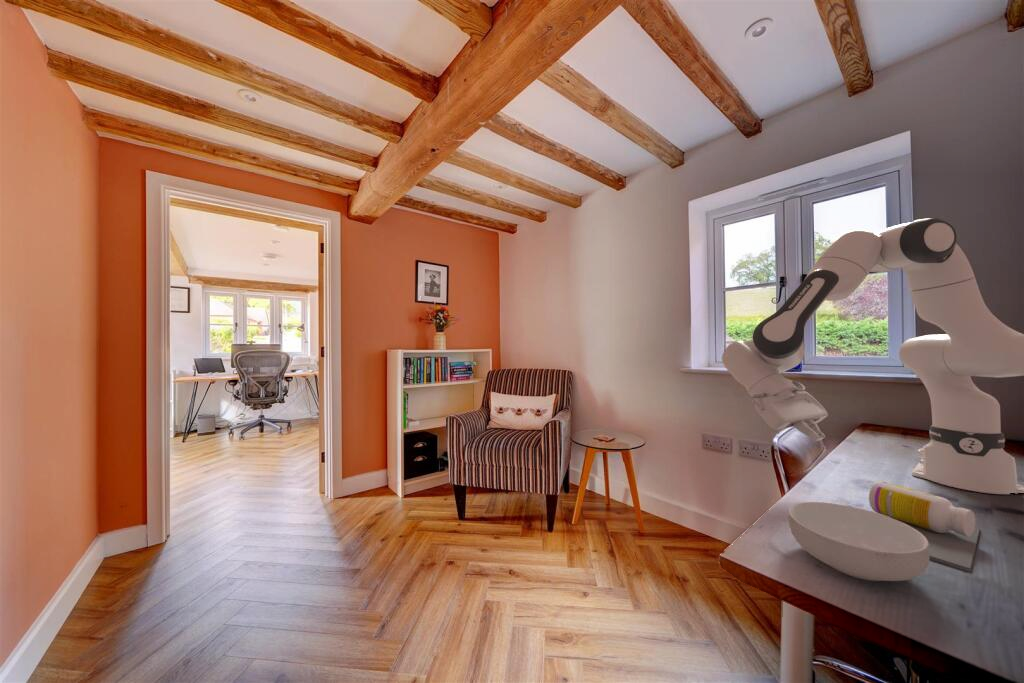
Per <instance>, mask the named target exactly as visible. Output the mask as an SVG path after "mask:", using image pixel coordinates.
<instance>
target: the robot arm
mask: <svg viewBox="0 0 1024 683" xmlns="http://www.w3.org/2000/svg"><path fill="white" fill-rule="evenodd" d="M901 269H902V270H903V271H904V272H905V273H906V280H907V284H908V287H909V288H908V289H909V291H910V294H911V297H912V301H913V305H914V307H915V311H916V314H917V315H918V317H919V318H920V319H921V320H923V321H924V322H928V323H930V324H932V325H935V326H937V327H939V328H940V329H941V330H942V331H944V332H945V333H943V334H941V333H938V334H937V333H936V334H926V335H925V334H924V335H921V336H916V337H912V338H911V337H910V338H908V339H907V340H905V341H904V342H902V344H901V345H900V347H899V349H898V350H899V351H898V357H899V360H900V362H901V364H902V365H903V366H904V367H905V368H906V369H908V370H910V371H911V372H913V374H915V375H916V376H917V377H918V378H919V379H920V380H921V382H922V383H923V385H924V387H925V388H926V391H927V394H928V396H929V399H930V406H931V409H930V410H931V421H932V424H931V425H930V426H929V430H928V431H929V432H928V433H929V438H930V441H929V442H928V443H926V444H925V445H923V446H922V448H919V449H918V450H917V457H918V458H920V460H919V462H918V463H917V464H916V466H915V467H914V469H913V470H912V472H911V475H912V476H914V477H917V478H922V479H926V480H929V481H931V482H935V483H937V484H940V485H943V486H944V485H945V486H948V487H951V488H952V487H953V488H956V489H961V490H967V491H972V492H978V493H985V494H993V495H1011V494H1010V493H1015V494H1018V493H1024V486H1023V485H1021V484H1018V477H1017V476H1018V473H1017V465H1016V460H1015V457H1014V456H1012V455H1011V454H1009V453H1008V452H1006V451H1005V450H1004V448H1005V442H1006V438H1005V434H1004V433H1003V432H1002V430H1001V429H1002V428H1001V425H1002V424H1001V423H1002V422H1001V405H1000V403H999V401H998V399H996V398H995V397H994V396H993V395H991V394H989V393H987V392H984V391H983V390H981V389H979V387H978V386H977V385H976V384H975V383H974V382H973V380H972V377H980V378H981V377H982V378H983V377H986V378H999V379H1000V378H1010V377H1022V376H1023V377H1024V333H1022V332H1019V331H1017V330H1015V329H1013V328H1011V327H1009V326H1008V325H1006V324H1005V323H1003V322H1002V321H1001V320H1000V319H998V317H996V316H995V315H994V313H993V312H991V310H990V309H989V308H988V306H987V305H986V303H985V301H984V298H983V296H982V294H981V291H980V289H979V285H978V283H977V279H976V276H975V274H974V270H973V268H972V265H971V264H970V261H969V259H968V257H967V256H966V254H965V253H964V251H963V250H962V248H961V247H960V245H958V244H957V232H956V230H955V228H954V227H953V225H951V224H950V223H949V222H948V221H946V220H944V219H942V218H937V217H934V218H933V217H932V218H931V217H929V218H921V219H916V220H912V222H907V223H901V224H898V225H893V226H890V227H887V228H885V229H883V230H881V231H877V232H875V233H874V232H872V231H869V230H866V229H853V230H849V231H846V232H844V233H842V234H841V235H840V236H839V237H837V238H836V239H835V240H834V241H833V242H832V243H831V244H830V245H829V246H828V247H827V248H826V249H825V250H824V252H823V253H821V255H820V257H819V258H818V259H817V261H816V262H815V263H814V264H813V265H812V267H811V269H810V270H809V271H808V273H807V275H806V276H805V278H804V279H803V280H802V282H801V283H800V284H799V285H798V286H797V287H796V288H795V290H794V291H793V292H792V293H791V295H790V296H789V297H788V298H787V300H786V301H784V303H783V304H782V306H780V308H779V309H778V310H777V311H775V312H774V313H773V314H771V315H770V316H767V318H765V319H763V320H762V321H760V322H759V323H758V324H757V325H756V326H755V328H754V329H753V331H752V339H751V340H736V341H733V342H732V343H730V344H729V345H728V346H727V347H726V348H725V349H724V351H723V353H722V356H721V360H722V364H723V365H724V367H725V368H726V370H727V372H728V373H729V374H731V376H732V377H733V378H734V379H735V381H737V382H738V383H739V384H741V385H742V386H743V387H744V388H745V389H746V392H747V393H748V394H749V395H750V396H751V401H752V403H753V404H754V409H755V410H756V411H757V413H758V414H759V416H760V417H761V419H762V420H763V421H764V422H765V423H766V425H768V426H769V427H770V428H771V429H773V430H775V431H777V430H778V431H779V430H783V429H784V430H785V429H789V428H795V429H796V431H798V432H800V433H802V434H803V435H805V436H807V438H809V440H811V441H812V442H817V441H821V440H823V439H824V438H826V435H825V434H824V433H823V432H822V431H821V429H820V427H819V425H818V423H820V422H821V421H823V420H824V419H826V418H827V417H829V414H828V412H827V410H826V408H825V407H824V406H823V405H822V404H821V403H820V402H819V401H818V400H817V399H816V398H815V397H814V396H813V395H812V394H811V393H809V392H807V391H805V390H806V387H805V385H803V384H802V383H800V382H798V381H793V380H792V379H791V380H790V379H789V378H787V377H784V376H783V375H782V374H783V373H785V372H787V371H791V370H792V369H794V368H796V367H798V366H799V365H800V364H801V363H802V362H803V360H804V356H805V347H804V334H805V327H806V324H807V323H808V321H809V320H810V319H811V318H812V316H813V315H814V314H815V313H816V312H817V311H818V309H819V308H820V307H821V305H822V304H823V303H824V302H825V301H828V302H835V301H841V300H845V299H847V298H849V296H851V294H852V293H854V292H855V291H856V290H857V289H858V288H860V285H861V284H862V283H863V282H864V281H865V279H866V278H867V276H868V275H869V274H876V273H880V272H889V271H891V272H892V271H896V270H901Z"/></svg>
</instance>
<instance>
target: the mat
mask: <svg viewBox="0 0 1024 683" xmlns="http://www.w3.org/2000/svg"><path fill="white" fill-rule="evenodd" d="M890 518H891V517H890ZM893 519H894V518H893ZM895 520H898V519H895ZM898 521H900V522H902V523H905V524H907V525H909V526H910V527H912V528H914V529H916V530H917V531H919V532H920V533H921V534H922V535H924V536H925V537H926V539H927V540H928V543H929V548H930V551H929V552H930V557H929V558H930V559H929V561H930V560H931V561H934V562H938V563H940V562H941V563H940V564H943V563H944V565H946V564H947V566H949V567H953V568H956V569H960V570H962V571H966V572H969V573H970V572H971V571H972V565H973V562H972V561H974V558H973V557H975V554H974V553H976V550H977V545H976V544H978V541H977V540H979V537H978V536H980V532H981V527H979V526H976V525H975V528H974V531H973V533H972V535H971V536H964V535H961V534H958V533H957V532H955V531H953V530H950V531H948V532H946V533H938V532H935V531H932V530H928V529H925V528H922V527H919V526H916V525H913V524H910V523H907V522H904V521H901V520H898Z"/></svg>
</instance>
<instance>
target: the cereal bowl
mask: <svg viewBox="0 0 1024 683" xmlns="http://www.w3.org/2000/svg"><path fill="white" fill-rule="evenodd" d="M787 513H788V515H787V516H788V523H789V524H788V525H789V528H790V531H791V534H792V536H793V538H794V539H795V541H796V542H797V543H798V545H799V546H801V547H802V549H804V551H806V552H807V553H809V554H810V555H811V556H813V557H814V558H815V559H817V560H819V561H820V562H822V563H824V564H826V565H828V566H830V567H831V568H833V569H834V570H836V571H838V572H840V573H843V574H844V575H847V576H851V577H853V578H856V579H860V580H865V581H872V582H881V581H882V582H883V581H884V582H902V581H908V580H911V579H915V578H916V577H918V576H920V575H921V574H923V573H924V572H925V571H926V569H927V568H928V566H929V563H930V558H929V557H930V552H929V551H930V548H929V543H928V540H927V539H926V537H925V536H924V535H922V534H921V533H920V532H919V531H917V530H916V529H914V528H912V527H910V526H909V525H907V524H905V523H902V522H900V521H898V520H895V519H893V518H890V517H888V516H885V515H882V514H879V513H877V512H875V511H872V510H868V509H863V508H861V507H855V506H851V505H845V504H841V503H834V502H823V501H822V502H821V501H804V502H798V503H794V504H792V505H791V506H789V508H788V510H787Z"/></svg>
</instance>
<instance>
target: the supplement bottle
mask: <svg viewBox="0 0 1024 683" xmlns="http://www.w3.org/2000/svg"><path fill="white" fill-rule="evenodd" d="M868 501H869V505H870V508H871V510H872V511H873V512H875V513H878V514H881V515H884V516H887V517H891V518H894V519H898V520H901V521H904V522H907V523H910V524H913V525H916V526H919V527H922V528H925V529H928V530H932V531H935V532H938V533H946V532H948V531H950V530H953V531H955V532H957V533H958V534H961V535H964V536H971V535H972V533H973V531H974V528H975V526H976V515H975V514H974V511H973V510H971V509H967V508H964V507H955V506H954V505H953V503H952V502H951V501H950V500H948V499H947V498H945V497H942V496H940V495H935V494H931V493H927V492H923V491H919V490H917V489H912V488H908V487H904V486H901V485H897V484H892V483H889V482H885V481H879V480H878V481H876V482H874V483H873V485H872V486H871V488H870V490H869V493H868Z"/></svg>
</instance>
